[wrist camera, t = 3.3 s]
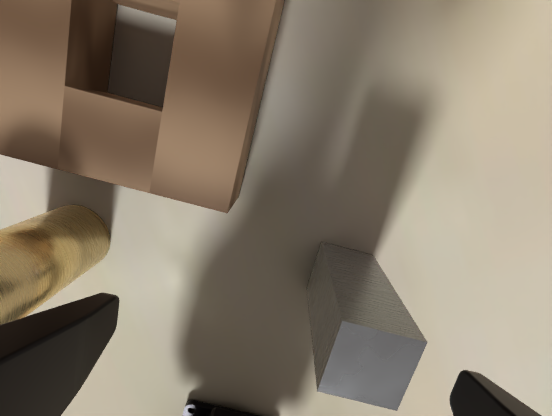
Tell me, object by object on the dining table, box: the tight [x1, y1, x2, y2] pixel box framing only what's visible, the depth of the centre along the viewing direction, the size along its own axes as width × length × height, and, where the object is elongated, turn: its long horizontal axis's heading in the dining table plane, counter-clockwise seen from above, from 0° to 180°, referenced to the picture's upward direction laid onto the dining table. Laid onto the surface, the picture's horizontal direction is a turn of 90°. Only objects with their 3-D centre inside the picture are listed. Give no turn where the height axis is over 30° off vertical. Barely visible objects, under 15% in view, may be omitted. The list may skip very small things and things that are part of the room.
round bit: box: [0, 205, 110, 325], centre depth 16 cm, size 4×4×8 cm
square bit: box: [307, 242, 427, 411], centre depth 16 cm, size 3×3×8 cm
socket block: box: [0, 0, 284, 213], centre depth 16 cm, size 12×12×4 cm
